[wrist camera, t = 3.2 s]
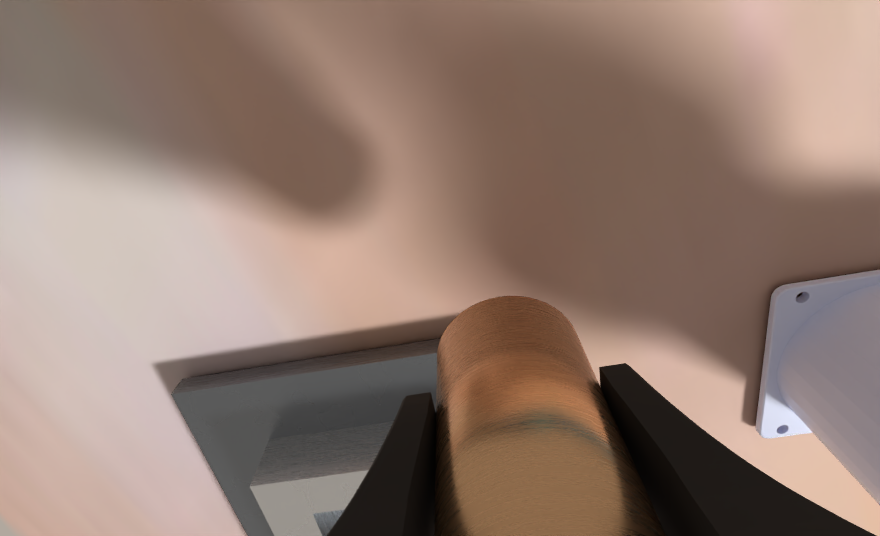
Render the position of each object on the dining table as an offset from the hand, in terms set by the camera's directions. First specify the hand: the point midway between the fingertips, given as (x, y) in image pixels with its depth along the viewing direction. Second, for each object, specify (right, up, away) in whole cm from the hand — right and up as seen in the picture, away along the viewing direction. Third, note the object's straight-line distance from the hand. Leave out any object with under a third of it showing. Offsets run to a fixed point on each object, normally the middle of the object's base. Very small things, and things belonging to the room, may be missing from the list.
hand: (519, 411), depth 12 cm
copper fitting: (0, +1, +2) cm, 2 cm away
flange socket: (-4, -7, +13) cm, 15 cm away
